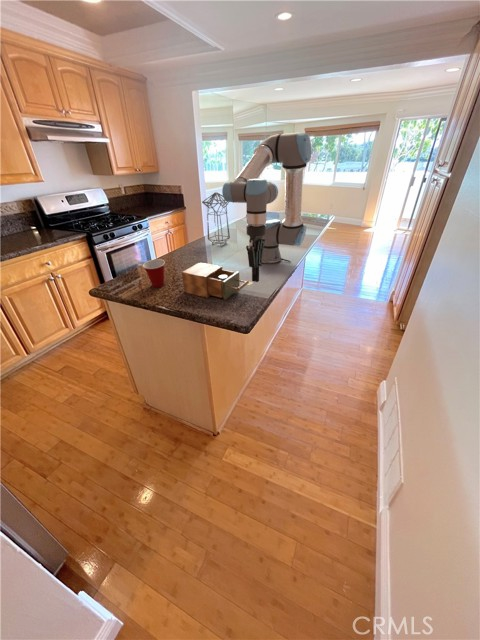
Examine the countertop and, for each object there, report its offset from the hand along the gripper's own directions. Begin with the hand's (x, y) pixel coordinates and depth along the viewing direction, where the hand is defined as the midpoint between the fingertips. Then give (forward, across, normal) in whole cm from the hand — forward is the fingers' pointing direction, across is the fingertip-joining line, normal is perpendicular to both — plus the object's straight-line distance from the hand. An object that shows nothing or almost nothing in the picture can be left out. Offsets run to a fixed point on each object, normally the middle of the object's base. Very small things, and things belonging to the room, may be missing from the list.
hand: (255, 280), depth 115 cm
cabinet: (+10, 0, -28) cm, 30 cm away
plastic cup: (+10, +6, -52) cm, 54 cm away
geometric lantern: (+9, -69, -62) cm, 93 cm away
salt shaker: (+8, 0, -17) cm, 19 cm away
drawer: (+9, 0, -15) cm, 17 cm away
